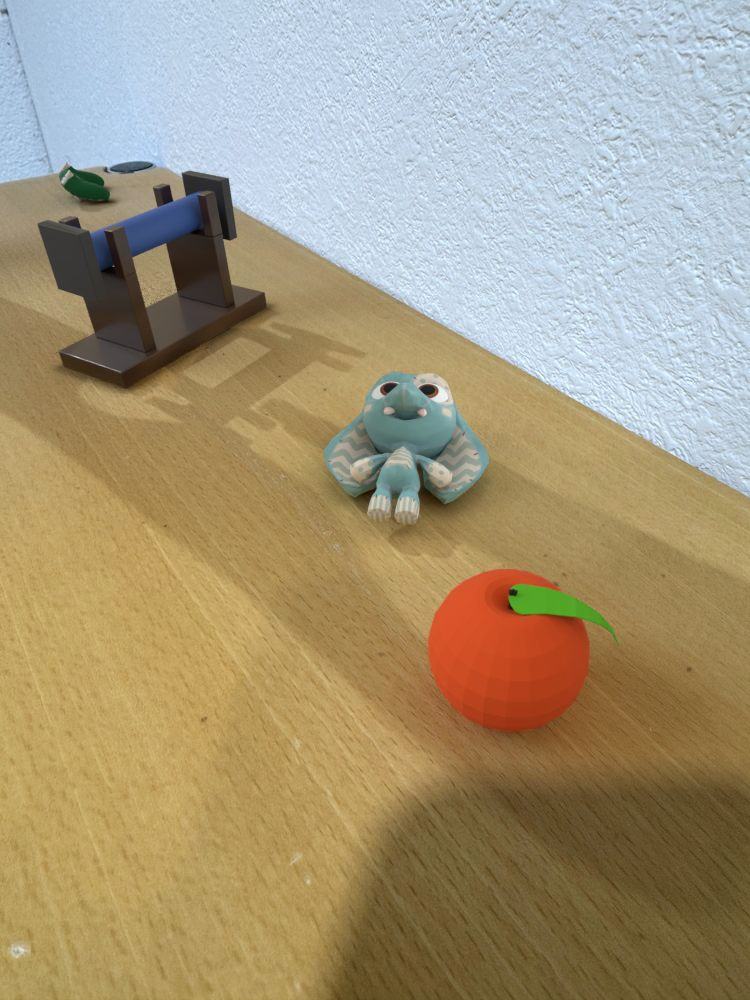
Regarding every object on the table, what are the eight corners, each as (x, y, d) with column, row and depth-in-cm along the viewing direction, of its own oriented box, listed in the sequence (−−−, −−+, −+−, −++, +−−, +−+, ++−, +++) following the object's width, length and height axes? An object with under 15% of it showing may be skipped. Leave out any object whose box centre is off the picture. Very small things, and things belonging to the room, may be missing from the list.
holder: (126, 388, 57) (82, 247, 49) (63, 366, 60) (14, 231, 53) (267, 306, 68) (248, 182, 61) (207, 292, 72) (183, 172, 64)
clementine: (596, 647, 34) (621, 541, 30) (608, 777, 29) (642, 673, 25) (434, 631, 36) (436, 527, 31) (419, 753, 30) (418, 650, 26)
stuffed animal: (290, 465, 38) (333, 332, 46) (309, 543, 44) (345, 412, 51) (488, 479, 36) (498, 337, 44) (482, 558, 42) (492, 420, 49)
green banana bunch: (92, 200, 106) (54, 175, 102) (105, 179, 105) (67, 153, 101) (99, 217, 99) (58, 191, 95) (113, 194, 98) (72, 167, 94)
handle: (199, 228, 66) (189, 170, 63) (237, 237, 64) (229, 177, 61) (58, 289, 56) (36, 223, 52) (98, 302, 54) (78, 234, 50)
